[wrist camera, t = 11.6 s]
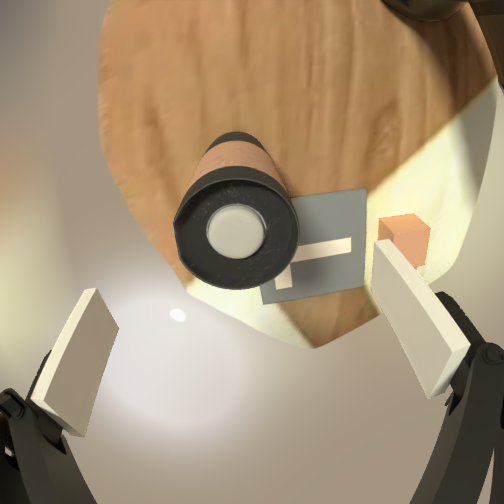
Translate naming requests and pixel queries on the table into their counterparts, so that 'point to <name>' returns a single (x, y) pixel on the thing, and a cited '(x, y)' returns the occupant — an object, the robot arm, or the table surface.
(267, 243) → the travel mug
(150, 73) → the table surface
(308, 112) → the table surface
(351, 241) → the letter mat
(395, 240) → the terracotta block
